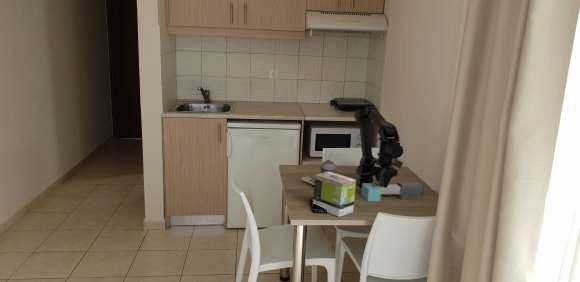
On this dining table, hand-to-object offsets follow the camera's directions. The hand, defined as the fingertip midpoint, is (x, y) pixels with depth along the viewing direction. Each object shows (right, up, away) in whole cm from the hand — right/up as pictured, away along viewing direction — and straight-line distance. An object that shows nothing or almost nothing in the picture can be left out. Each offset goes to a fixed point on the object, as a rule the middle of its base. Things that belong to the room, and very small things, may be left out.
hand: (381, 184), depth 211 cm
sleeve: (+14, -7, +4) cm, 16 cm away
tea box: (-24, -9, -17) cm, 31 cm away
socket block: (-5, -6, +1) cm, 8 cm away
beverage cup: (-25, -4, +5) cm, 26 cm away
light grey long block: (+4, -4, +2) cm, 6 cm away
